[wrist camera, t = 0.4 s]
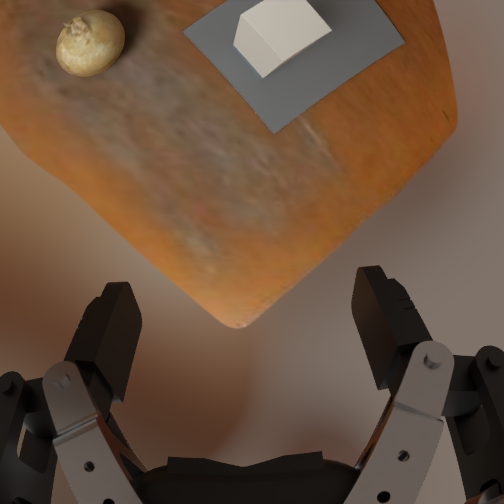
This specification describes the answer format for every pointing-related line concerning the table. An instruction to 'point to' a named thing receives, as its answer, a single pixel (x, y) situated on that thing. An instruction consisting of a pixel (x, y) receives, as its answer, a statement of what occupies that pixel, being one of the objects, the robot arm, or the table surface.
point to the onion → (90, 43)
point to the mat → (305, 63)
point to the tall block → (277, 33)
